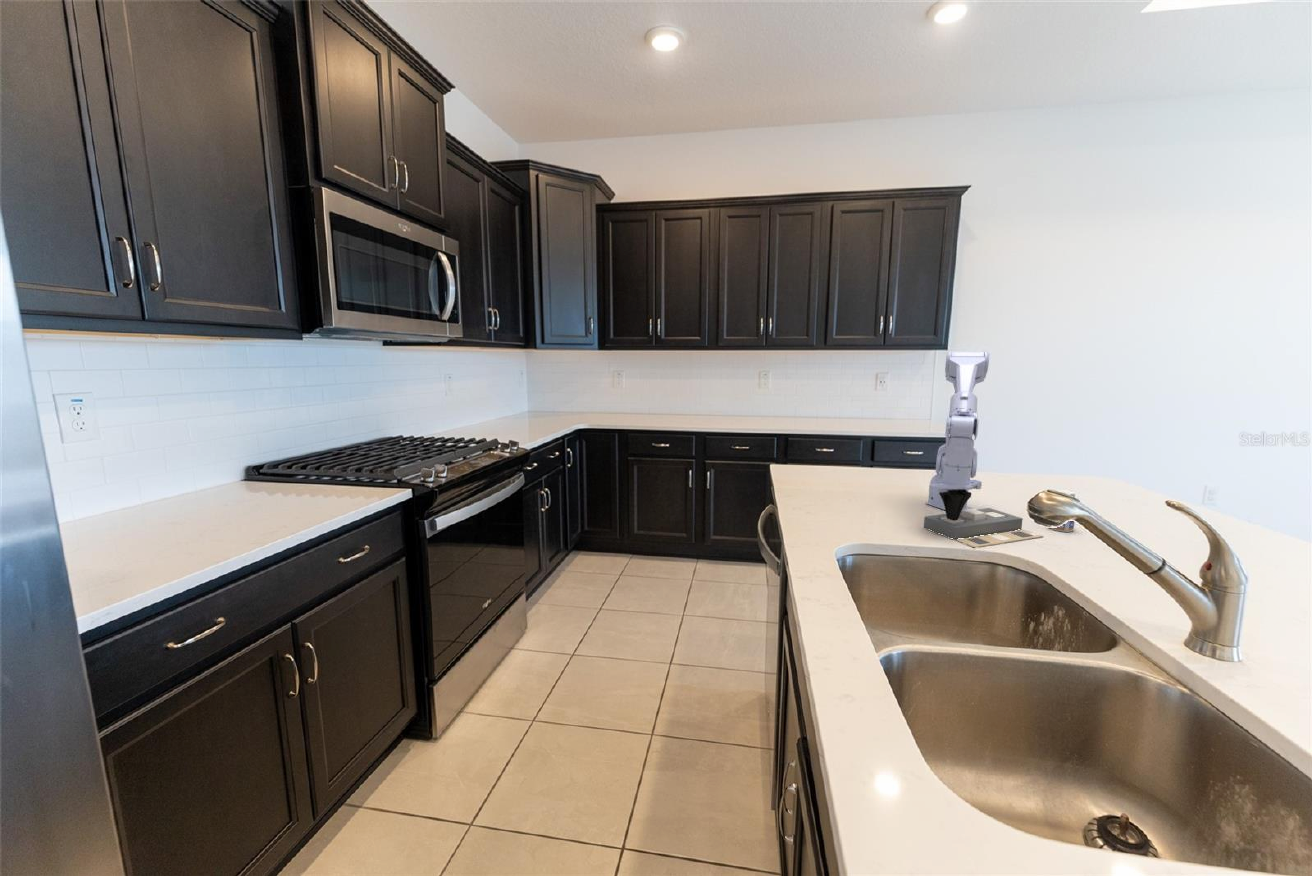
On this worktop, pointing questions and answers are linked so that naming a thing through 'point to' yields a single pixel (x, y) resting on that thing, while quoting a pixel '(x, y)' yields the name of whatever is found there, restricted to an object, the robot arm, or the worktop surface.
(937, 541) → the worktop surface
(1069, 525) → the pill bottle
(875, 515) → the worktop surface
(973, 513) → the button middle
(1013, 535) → the pattern card
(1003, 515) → the button end far
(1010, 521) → the button board
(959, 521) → the button end near
